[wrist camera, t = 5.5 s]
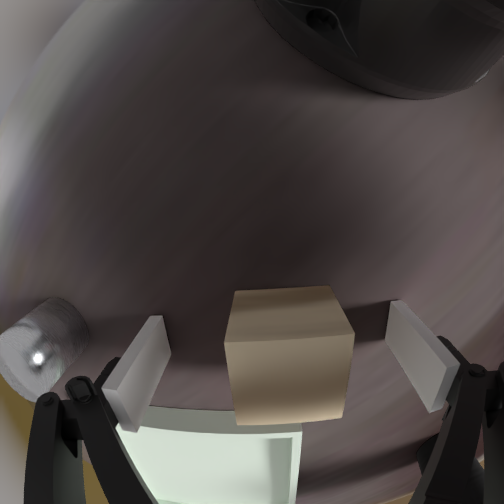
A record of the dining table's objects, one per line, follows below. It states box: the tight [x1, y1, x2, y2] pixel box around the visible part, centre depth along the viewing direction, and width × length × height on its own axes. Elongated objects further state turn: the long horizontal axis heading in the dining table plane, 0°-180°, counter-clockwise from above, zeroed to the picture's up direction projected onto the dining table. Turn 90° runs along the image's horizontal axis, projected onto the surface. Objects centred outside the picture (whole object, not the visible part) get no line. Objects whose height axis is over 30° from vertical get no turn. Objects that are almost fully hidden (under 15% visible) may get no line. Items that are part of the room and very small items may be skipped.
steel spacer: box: [0, 297, 89, 402], centre depth 14 cm, size 4×4×6 cm
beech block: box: [224, 285, 355, 425], centre depth 13 cm, size 5×5×5 cm
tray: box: [116, 406, 302, 504], centre depth 19 cm, size 19×17×2 cm
